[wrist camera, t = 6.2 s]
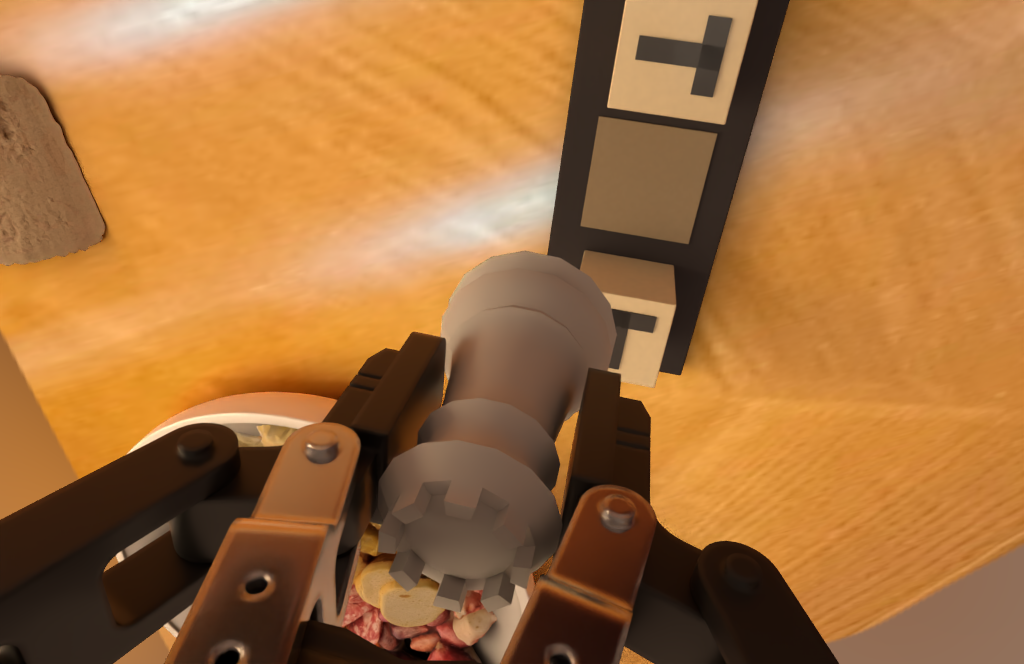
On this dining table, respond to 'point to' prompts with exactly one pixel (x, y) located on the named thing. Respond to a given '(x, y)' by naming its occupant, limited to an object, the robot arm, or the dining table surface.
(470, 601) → the bowl
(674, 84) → the tile
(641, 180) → the word mat
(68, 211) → the clay tablet
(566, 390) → the rook chess piece
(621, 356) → the tile
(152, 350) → the dining table surface
